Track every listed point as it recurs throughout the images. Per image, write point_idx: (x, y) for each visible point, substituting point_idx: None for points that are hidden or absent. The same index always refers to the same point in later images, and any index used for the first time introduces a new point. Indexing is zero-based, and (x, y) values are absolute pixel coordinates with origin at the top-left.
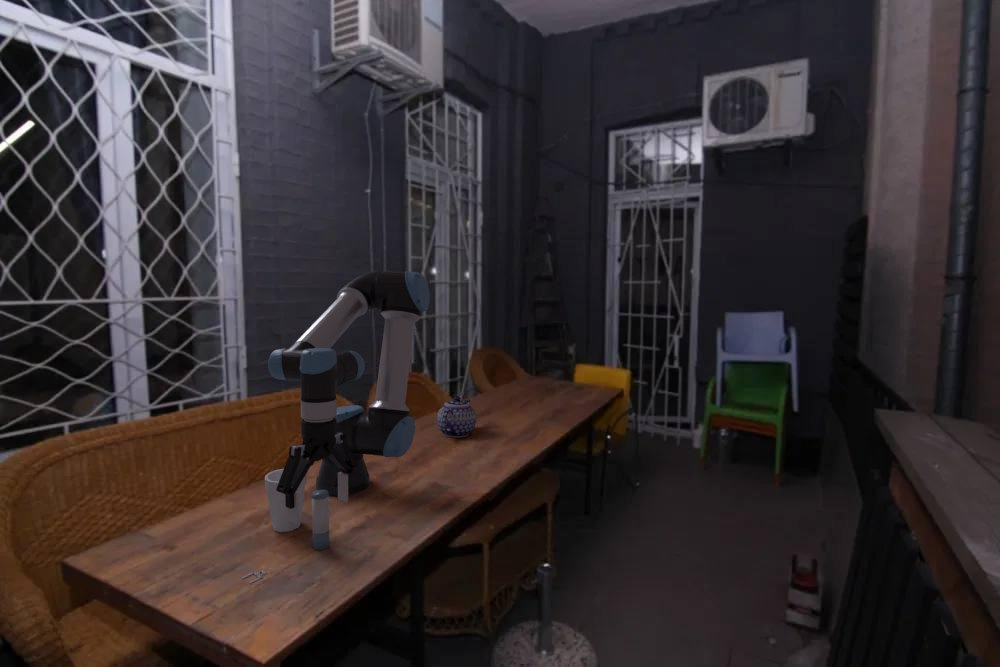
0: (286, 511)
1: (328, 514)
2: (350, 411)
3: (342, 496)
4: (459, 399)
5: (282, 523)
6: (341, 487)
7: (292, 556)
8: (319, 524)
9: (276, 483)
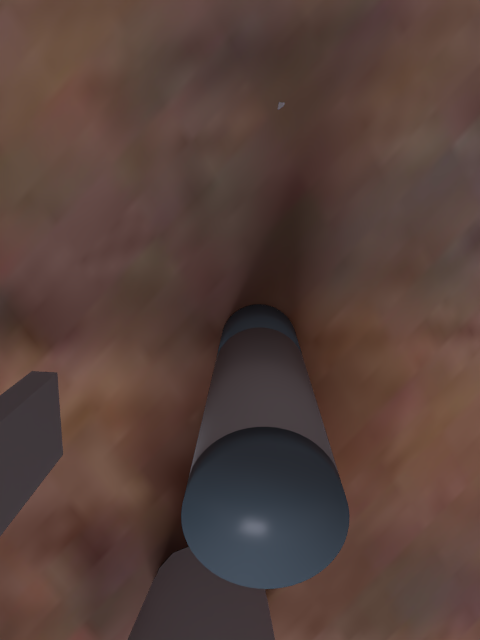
0: (251, 636)
1: (233, 366)
2: None
3: (42, 424)
4: None
5: (259, 596)
6: (1, 481)
7: (384, 381)
8: (301, 362)
9: None
